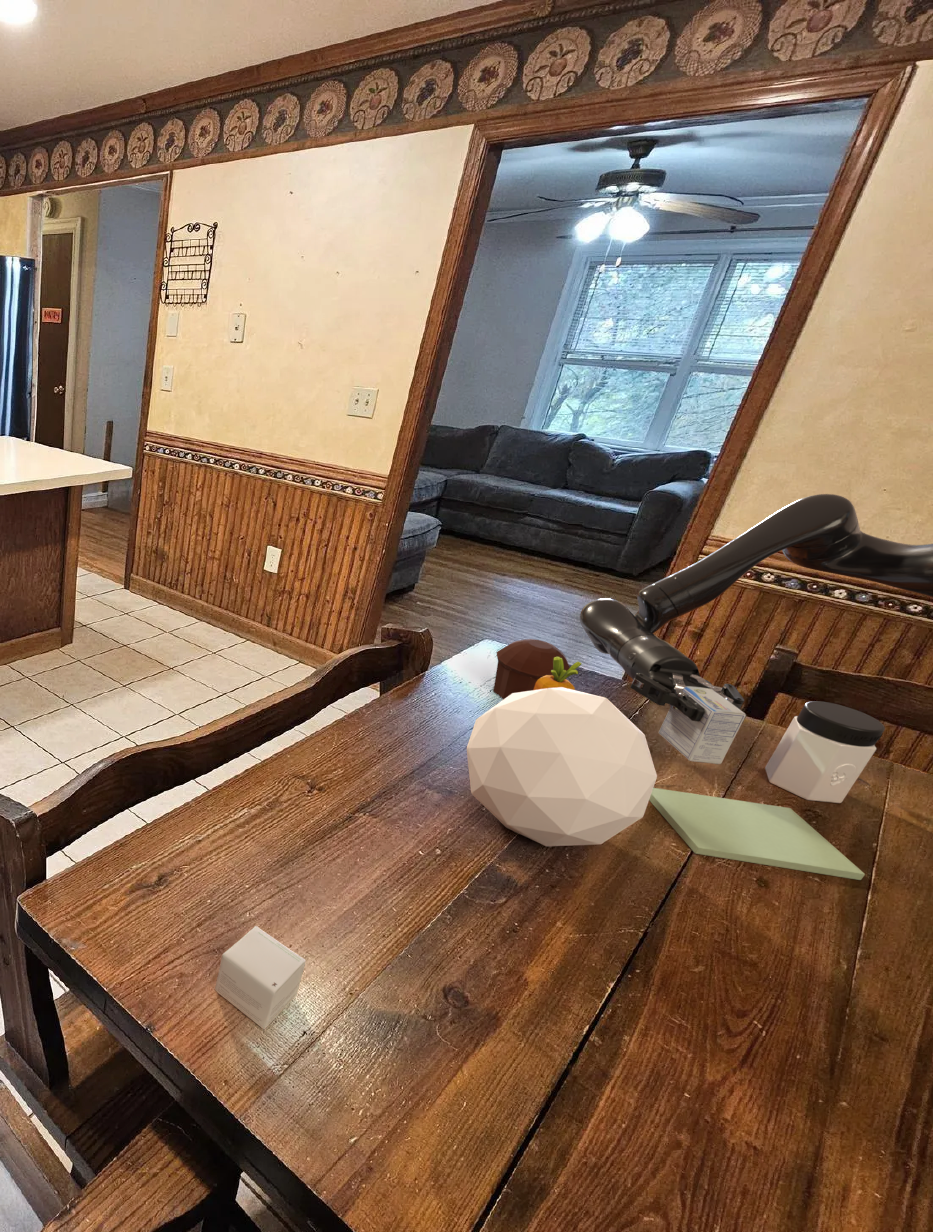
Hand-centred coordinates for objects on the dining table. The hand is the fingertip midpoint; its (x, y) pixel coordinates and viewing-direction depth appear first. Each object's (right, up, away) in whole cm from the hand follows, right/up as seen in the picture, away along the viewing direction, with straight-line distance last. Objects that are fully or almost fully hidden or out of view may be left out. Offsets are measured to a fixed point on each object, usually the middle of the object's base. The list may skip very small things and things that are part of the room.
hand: (719, 718), depth 102 cm
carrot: (-21, -5, +9) cm, 23 cm away
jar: (+14, -10, +3) cm, 18 cm away
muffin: (-13, +2, +24) cm, 27 cm away
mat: (-4, -14, -8) cm, 17 cm away
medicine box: (0, -5, +5) cm, 8 cm away
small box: (-75, -23, -34) cm, 86 cm away
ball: (-33, -13, -9) cm, 37 cm away
